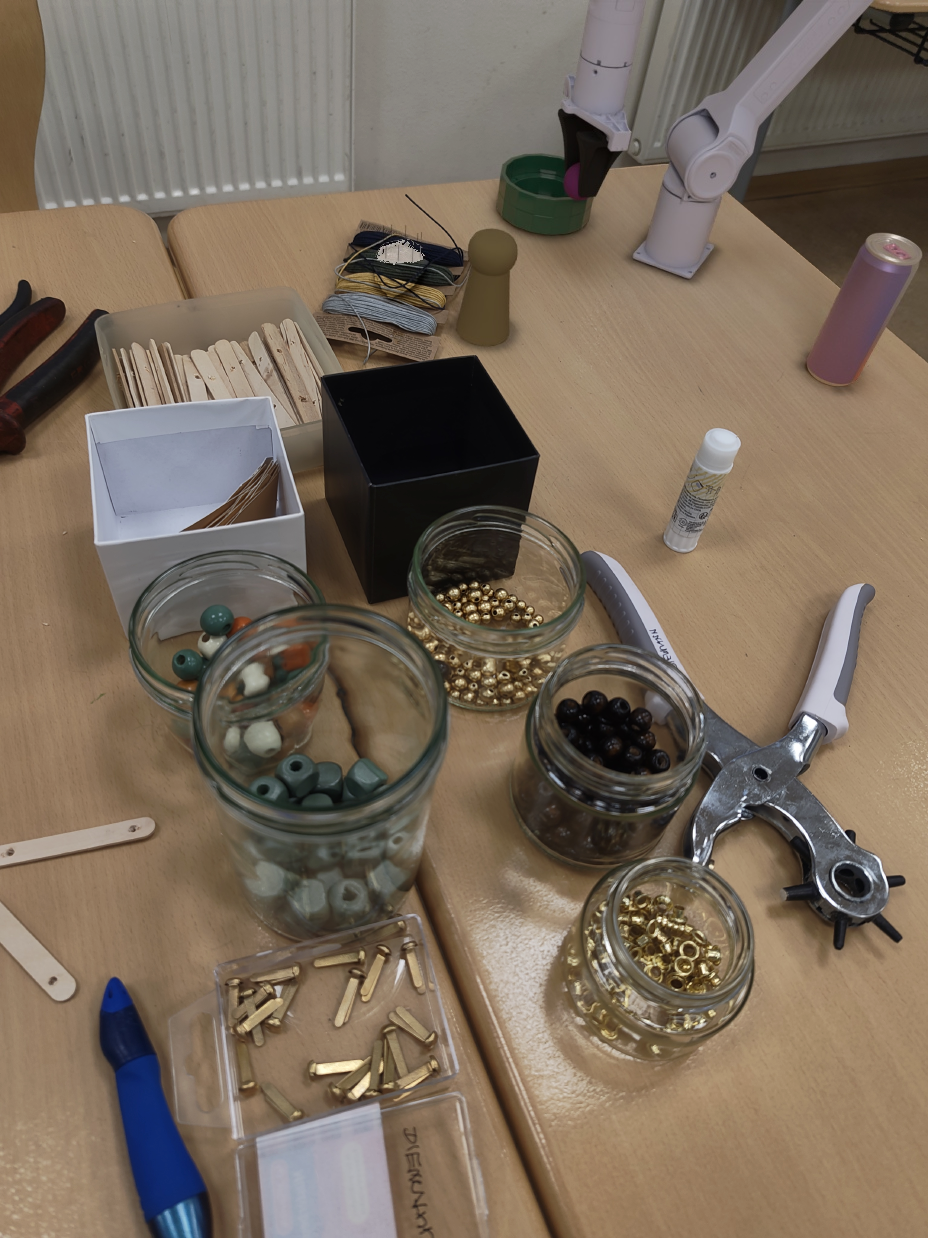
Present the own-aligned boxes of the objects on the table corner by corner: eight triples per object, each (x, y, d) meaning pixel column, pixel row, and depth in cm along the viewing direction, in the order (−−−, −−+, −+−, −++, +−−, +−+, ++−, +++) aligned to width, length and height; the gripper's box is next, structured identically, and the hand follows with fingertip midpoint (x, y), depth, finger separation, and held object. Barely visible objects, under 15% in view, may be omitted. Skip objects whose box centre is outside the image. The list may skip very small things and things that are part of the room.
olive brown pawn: (504, 350, 95) (518, 256, 86) (450, 339, 95) (459, 244, 86) (513, 320, 98) (528, 226, 90) (461, 309, 99) (471, 215, 90)
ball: (568, 186, 104) (575, 152, 101) (598, 197, 104) (606, 163, 100) (555, 199, 102) (561, 164, 99) (586, 210, 101) (593, 175, 98)
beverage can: (828, 393, 96) (894, 267, 84) (793, 362, 99) (852, 236, 87) (867, 381, 98) (937, 257, 86) (831, 351, 101) (894, 227, 89)
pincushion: (416, 307, 98) (419, 260, 94) (363, 298, 98) (363, 251, 94) (433, 253, 105) (437, 207, 101) (384, 245, 106) (385, 199, 101)
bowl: (521, 182, 119) (527, 144, 115) (602, 210, 116) (610, 172, 112) (480, 217, 112) (484, 177, 108) (564, 248, 109) (572, 209, 105)
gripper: (547, 30, 94) (528, 158, 105) (597, 86, 86) (571, 219, 97) (606, 30, 96) (581, 156, 107) (661, 85, 88) (628, 216, 99)
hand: (580, 186), depth 102 cm, fingers closed on ball, 4 cm apart
